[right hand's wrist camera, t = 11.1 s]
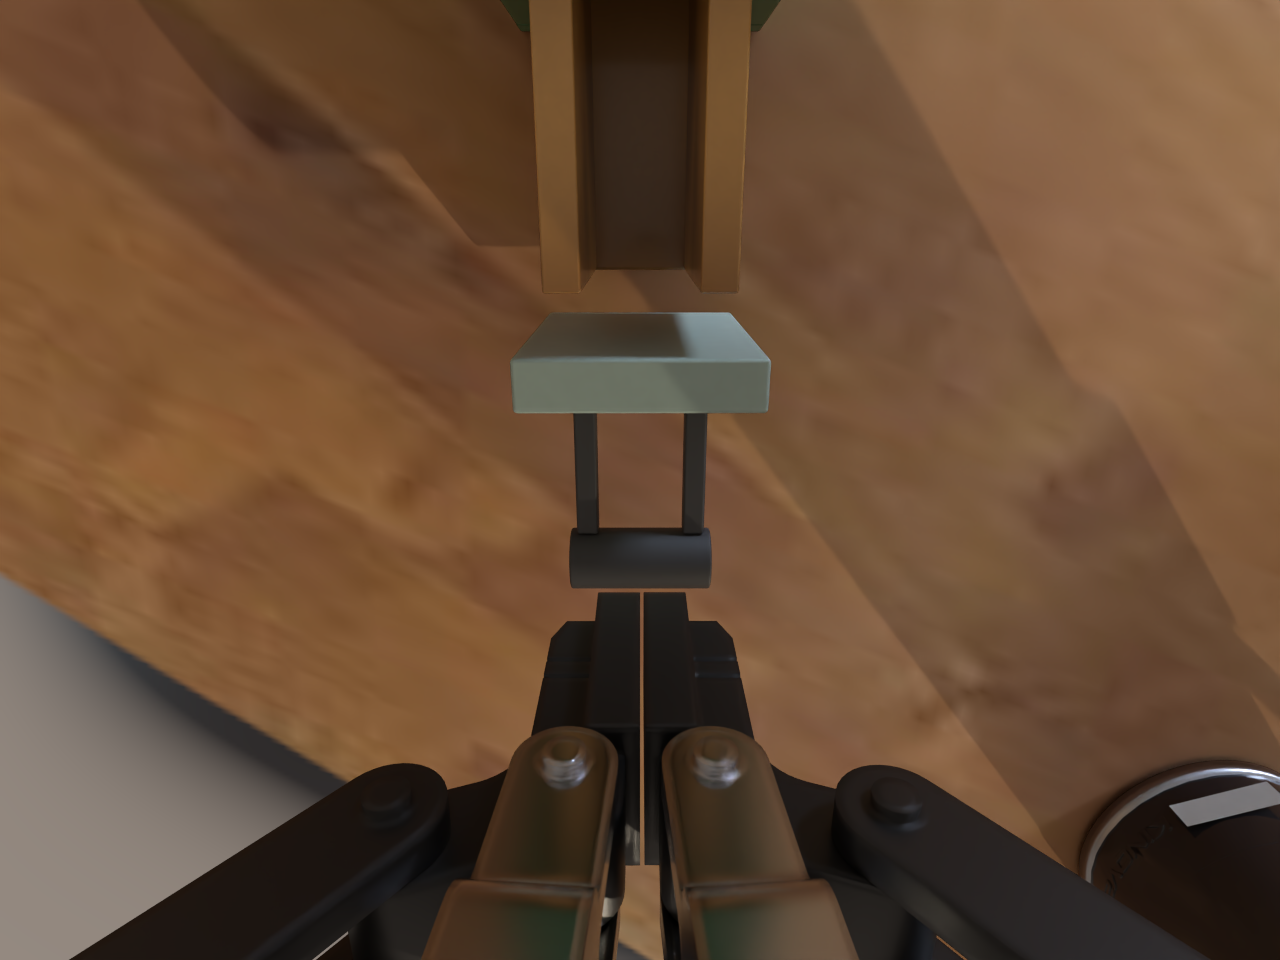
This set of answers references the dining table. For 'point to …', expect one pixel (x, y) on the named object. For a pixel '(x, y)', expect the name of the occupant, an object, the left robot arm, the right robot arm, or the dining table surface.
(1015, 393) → the dining table surface
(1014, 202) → the dining table surface
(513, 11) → the cabinet
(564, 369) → the drawer
